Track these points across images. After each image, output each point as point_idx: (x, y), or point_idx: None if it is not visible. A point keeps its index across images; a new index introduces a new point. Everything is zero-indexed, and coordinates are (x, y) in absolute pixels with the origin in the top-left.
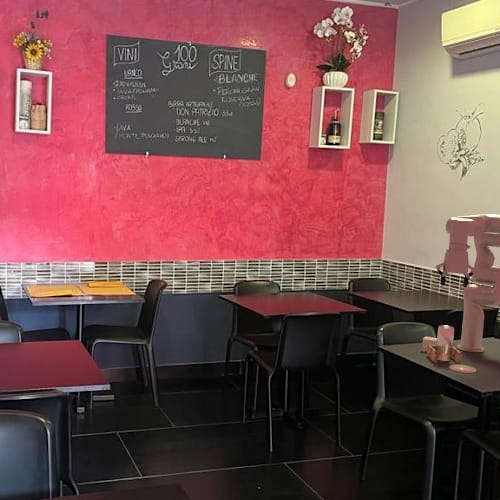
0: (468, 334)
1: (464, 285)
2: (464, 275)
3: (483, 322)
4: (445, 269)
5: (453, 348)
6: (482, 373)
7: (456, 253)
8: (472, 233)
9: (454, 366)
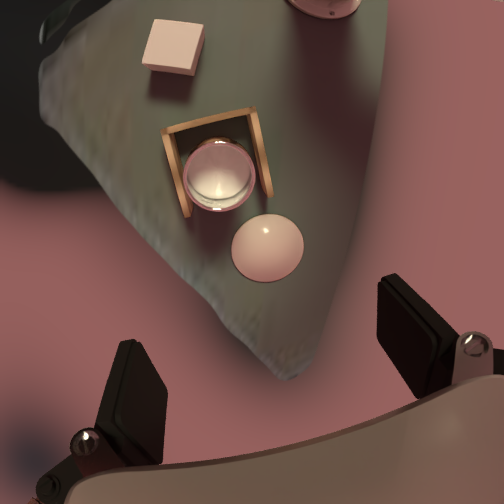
0: None
1: (383, 330)
2: (449, 382)
3: None
4: None
5: (253, 129)
6: (314, 262)
7: None
8: None
9: (245, 243)
